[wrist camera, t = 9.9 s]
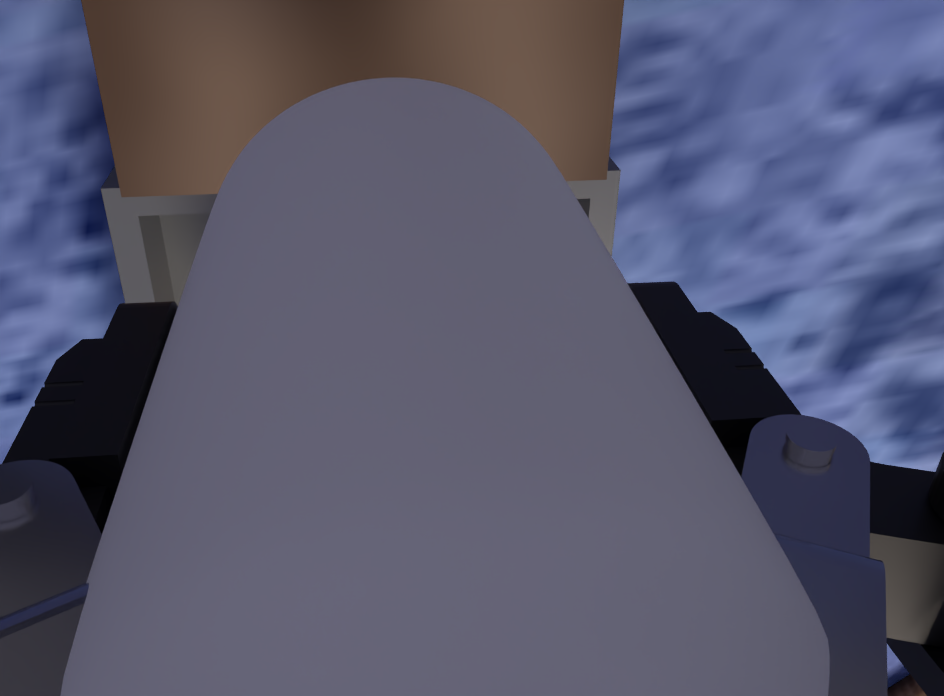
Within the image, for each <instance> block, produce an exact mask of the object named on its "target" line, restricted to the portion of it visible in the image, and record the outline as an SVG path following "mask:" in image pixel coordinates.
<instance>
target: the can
mask: <svg viewBox="0 0 944 696" xmlns="http://www.w3.org/2000/svg"><path fill="white" fill-rule="evenodd" d="M87 583H89V589H88V593H87V597H86V600H85V603H84V607H83V610H82V613H81V616H80V620H79V623H78V627H77V631H76V634H75V638H74V641H73V645H72V648H71V652H70V655H69V659H68V663H67V666H66V670H65V673H64V677H63V683H62V689H61V695H60V696H828V690H829V675H830V653H829V644H828V638H827V636H826V633H825V631H824V629H823V626H822V624H821V622H820V619H819V617H818V614H817V612H816V610H815V608H814V606H813V604H812V603H811V601H810V599H809V597H808V595H807V593H806V591H805V590H804V588H803V586H802V584H801V582H800V580H799V579H798V577H797V575H796V573H795V571H794V569H793V567H792V566H791V564H790V562H789V560H788V558H787V556H786V555H785V553H784V551H783V549H782V548H781V546H780V544H779V542H778V541H777V539H776V537H775V535H774V534H773V532H772V530H771V528H770V527H769V525H768V523H767V522H766V520H765V518H764V516H763V515H762V513H761V511H760V509H759V508H758V506H757V504H756V502H755V501H754V499H753V497H752V495H751V494H750V492H749V490H748V488H747V487H746V485H745V483H744V481H743V480H742V478H741V476H740V475H739V473H738V471H737V469H736V468H735V466H734V464H733V463H732V461H731V459H730V457H729V456H728V454H727V452H726V451H725V449H724V447H723V445H722V444H721V442H720V440H719V439H718V437H717V435H716V433H715V432H714V430H713V428H712V427H711V425H710V423H709V421H708V420H707V418H706V416H705V415H704V413H703V411H702V409H701V408H700V406H699V404H698V403H697V401H696V399H695V397H694V396H693V394H692V392H691V391H690V389H689V387H688V386H687V384H686V382H685V380H684V379H683V377H682V375H681V374H680V372H679V370H678V369H677V367H676V365H675V363H674V362H673V360H672V358H671V357H670V355H669V353H668V352H667V350H666V348H665V346H664V345H663V343H662V341H661V340H660V338H659V336H658V335H657V333H656V331H655V329H654V328H653V326H652V324H651V323H650V321H649V319H648V318H647V316H646V314H645V312H644V311H643V309H642V307H641V306H640V304H639V302H638V301H637V299H636V297H635V296H634V294H633V292H632V291H631V289H630V287H629V285H628V284H627V282H626V280H625V279H624V277H623V275H622V274H621V272H620V270H619V269H618V267H617V265H616V264H615V262H614V260H613V259H612V257H611V255H610V253H609V252H608V250H607V248H606V247H605V245H604V243H603V242H602V240H601V238H600V237H599V235H598V233H597V232H596V230H595V228H594V227H593V225H592V223H591V222H590V220H589V218H588V217H587V215H586V213H585V212H584V210H583V208H582V207H581V205H580V203H579V202H578V200H577V198H576V197H575V195H574V193H573V192H572V190H571V189H570V187H569V185H568V184H567V182H566V180H565V179H564V177H563V176H562V174H561V172H560V171H559V169H558V168H557V166H556V165H555V163H554V162H553V160H552V159H551V158H550V156H549V155H548V153H547V152H546V151H545V149H544V148H543V147H542V146H541V144H540V143H539V142H538V141H537V140H536V139H535V138H534V137H533V136H532V134H531V133H530V132H529V131H528V130H527V129H526V128H524V127H523V126H522V125H521V124H520V123H519V122H518V121H517V120H515V119H514V118H513V117H512V116H510V115H509V114H508V113H506V112H505V111H503V110H502V109H500V108H499V107H497V106H496V105H494V104H492V103H490V102H489V101H487V100H485V99H483V98H481V97H479V96H477V95H475V94H472V93H470V92H468V91H465V90H462V89H459V88H457V87H453V86H450V85H447V84H443V83H439V82H434V81H429V80H422V79H413V78H376V79H367V80H361V81H355V82H351V83H346V84H343V85H339V86H336V87H332V88H329V89H327V90H324V91H321V92H319V93H316V94H314V95H312V96H310V97H308V98H306V99H304V100H302V101H300V102H298V103H296V104H294V105H293V106H291V107H290V108H288V109H286V110H285V111H284V112H282V113H281V114H279V115H278V116H277V117H275V118H274V119H273V120H271V121H270V122H269V123H268V124H267V125H266V126H264V127H263V128H262V129H261V130H260V131H259V132H258V133H257V134H256V135H255V136H254V137H253V138H252V139H251V140H250V142H249V143H248V144H247V145H246V146H245V148H244V149H243V150H242V152H241V153H240V154H239V156H238V157H237V159H236V160H235V162H234V163H233V165H232V167H231V168H230V170H229V172H228V173H227V175H226V177H225V179H224V181H223V183H222V185H221V188H220V190H219V192H218V195H217V197H216V200H215V202H214V205H213V207H212V210H211V213H210V216H209V218H208V221H207V224H206V227H205V229H204V232H203V235H202V238H201V241H200V244H199V247H198V250H197V252H196V255H195V258H194V261H193V264H192V267H191V270H190V273H189V276H188V279H187V282H186V284H185V287H184V290H183V293H182V296H181V299H180V302H179V305H178V308H177V311H176V314H175V317H174V320H173V323H172V326H171V329H170V332H169V335H168V338H167V341H166V344H165V347H164V350H163V353H162V355H161V358H160V361H159V364H158V367H157V370H156V373H155V376H154V379H153V382H152V385H151V388H150V391H149V394H148V397H147V400H146V403H145V406H144V409H143V412H142V415H141V418H140V421H139V424H138V427H137V430H136V433H135V436H134V439H133V442H132V445H131V448H130V451H129V454H128V457H127V460H126V463H125V466H124V469H123V473H122V476H121V479H120V482H119V485H118V488H117V491H116V494H115V497H114V500H113V503H112V506H111V509H110V512H109V515H108V518H107V521H106V524H105V527H104V530H103V533H102V536H101V539H100V542H99V545H98V548H97V551H96V554H95V557H94V560H93V564H92V567H91V570H90V573H89V576H88V579H87V582H86V584H87Z"/></svg>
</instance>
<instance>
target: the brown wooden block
mask: <svg viewBox="0 0 944 696" xmlns="http://www.w3.org/2000/svg"><path fill="white" fill-rule="evenodd" d="M81 2H82V6H83V11H84V16H85V21H86V26H87V31H88V36H89V41H90V46H91V51H92V55H93V60H94V65H95V70H96V75H97V80H98V85H99V90H100V95H101V100H102V104H103V109H104V114H105V119H106V124H107V129H108V134H109V139H110V144H111V149H112V153H113V158H114V163H115V168H116V173H117V178H118V183H119V188H120V193H121V197H145V196H173V195H201V194H218V192H219V190H220V188H221V185H222V183H223V181H224V179H225V177H226V175H227V173H228V172H229V170H230V168H231V167H232V165H233V163H234V162H235V160H236V159H237V157H238V156H239V154H240V153H241V152H242V150H243V149H244V148H245V146H246V145H247V144H248V143H249V142H250V140H251V139H252V138H253V137H254V136H255V135H256V134H257V133H258V132H259V131H260V130H261V129H262V128H263V127H264V126H266V125H267V124H268V123H269V122H270V121H271V120H273V119H274V118H275V117H277V116H278V115H279V114H281V113H282V112H284V111H285V110H286V109H288V108H290V107H291V106H293V105H294V104H296V103H298V102H300V101H302V100H304V99H306V98H308V97H310V96H312V95H314V94H316V93H319V92H321V91H324V90H327V89H329V88H332V87H336V86H339V85H343V84H346V83H351V82H355V81H361V80H367V79H376V78H413V79H422V80H429V81H434V82H439V83H443V84H447V85H450V86H453V87H457V88H459V89H462V90H465V91H468V92H470V93H472V94H475V95H477V96H479V97H481V98H483V99H485V100H487V101H489V102H490V103H492V104H494V105H496V106H497V107H499V108H500V109H502V110H503V111H505V112H506V113H508V114H509V115H510V116H512V117H513V118H514V119H515V120H517V121H518V122H519V123H520V124H521V125H522V126H523V127H524V128H526V129H527V130H528V131H529V132H530V133H531V134H532V136H533V137H534V138H535V139H536V140H537V141H538V142H539V143H540V144H541V146H542V147H543V148H544V149H545V151H546V152H547V153H548V155H549V156H550V158H551V159H552V160H553V162H554V163H555V165H556V166H557V168H558V169H559V171H560V172H561V174H562V176H563V177H564V179H565V180H566V181H586V180H607V171H608V160H609V150H610V140H611V129H612V119H613V109H614V99H615V88H616V78H617V68H618V57H619V47H620V37H621V27H622V16H623V6H624V0H81Z"/></svg>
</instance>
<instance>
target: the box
mask: <svg viewBox="0 0 944 696" xmlns="http://www.w3.org/2000/svg"><path fill="white" fill-rule="evenodd" d="M620 171H621V170H620V169H619V168H618V167H617V165H616V164H615V163H614V162H613V161H612V159H611V158H610V157H609V160H608V171H607V180H586V181H566V182H567V184H568V185H569V187H570V189H571V190H572V192H573V193H574V195H575V197H576V198H577V200H578V202H579V203H580V205H581V207H582V208H583V210H584V212H585V213H586V215H587V217H588V218H589V220H590V222H591V223H592V225H593V227H594V228H595V230H596V232H597V233H598V235H599V237H600V238H601V240H602V242H603V243H604V245H605V247H606V248H607V250H608V252H609V253H610V255H611V257H612V247H613V238H614V228H615V219H616V209H617V200H618V190H619V181H620ZM101 192H102V197H103V201H104V206H105V211H106V215H107V220H108V225H109V229H110V234H111V238H112V243H113V248H114V252H115V257H116V262H117V266H118V271H119V276H120V280H121V285H122V289H123V294H124V299H125V303H144V302H168V301H174V302H176V304H177V306H178V305H179V302H180V299H181V296H182V293H183V290H184V287H185V284H186V282H187V279H188V276H189V273H190V270H191V267H192V264H193V261H194V258H195V255H196V252H197V250H198V247H199V244H200V241H201V238H202V235H203V232H204V229H205V227H206V224H207V221H208V218H209V216H210V213H211V210H212V207H213V205H214V202H215V200H216V197H217V195H218V194H201V195H173V196H145V197H121V193H120V188H119V183H118V178H117V173H116V168H115V166H114V168H113V170H112V171H111V173H110V174H109V176H108V178H107V179H106V181H105V183H104V184H103V186H102V187H101Z"/></svg>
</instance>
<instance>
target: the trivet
mask: <svg viewBox="0 0 944 696" xmlns="http://www.w3.org/2000/svg"><path fill="white" fill-rule="evenodd" d="M887 694H888V696H927V695H926V694H925V693H924V691H923V690H922V689H921V687H920V686H919V685H918V683H917V682H916V681H915V680H914V678H913V677H912V676H911V674H909V675H908V676H906V677H905V678H903V679H902V680H900V681H899V682H897V683H895V684H894V685H892V686H891V687H889V688H888V689H887Z"/></svg>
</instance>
